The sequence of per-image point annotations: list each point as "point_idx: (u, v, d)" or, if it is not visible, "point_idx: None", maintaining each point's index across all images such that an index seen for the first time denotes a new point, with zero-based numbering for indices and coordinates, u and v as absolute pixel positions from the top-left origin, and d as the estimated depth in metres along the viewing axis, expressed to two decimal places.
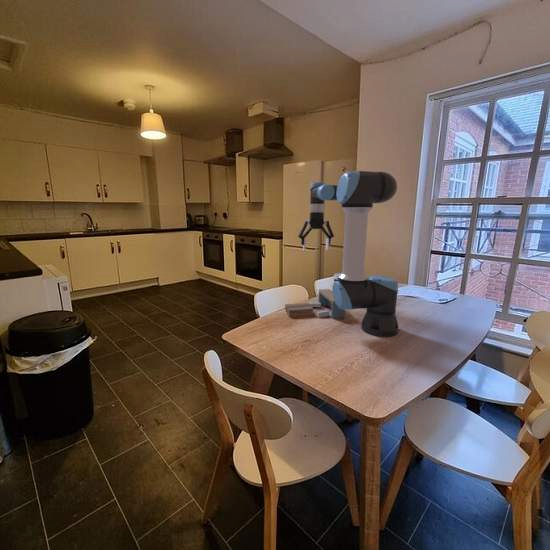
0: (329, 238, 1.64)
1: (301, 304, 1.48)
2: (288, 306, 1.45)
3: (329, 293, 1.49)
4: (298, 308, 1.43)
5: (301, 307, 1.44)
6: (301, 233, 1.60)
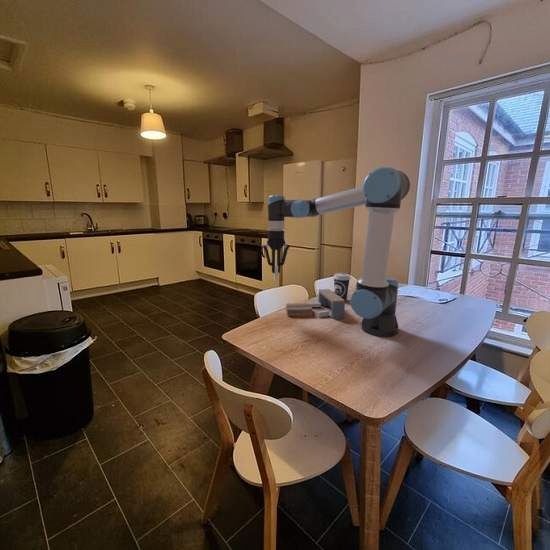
0: (277, 265, 1.38)
1: (302, 304, 1.48)
2: (288, 306, 1.46)
3: (329, 293, 1.49)
4: (298, 308, 1.43)
5: (301, 307, 1.44)
6: (268, 260, 1.36)
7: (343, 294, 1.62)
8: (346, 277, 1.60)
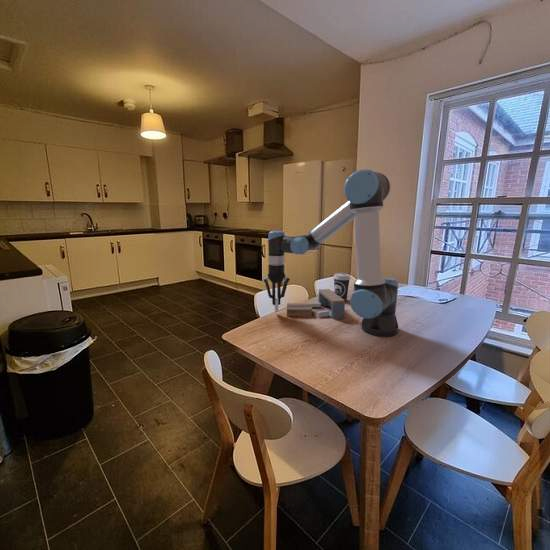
0: (278, 298, 1.42)
1: (302, 304, 1.48)
2: (288, 305, 1.46)
3: (329, 293, 1.49)
4: (297, 308, 1.43)
5: (300, 307, 1.44)
6: (269, 293, 1.40)
7: (343, 294, 1.62)
8: (346, 277, 1.60)
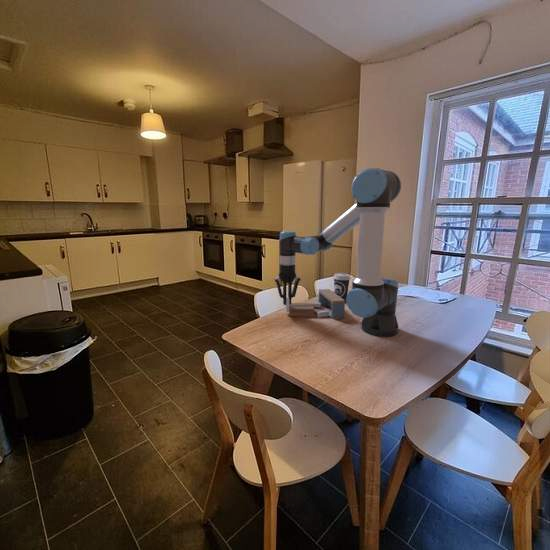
0: (289, 297, 1.43)
1: (305, 304, 1.48)
2: (290, 305, 1.47)
3: (329, 293, 1.49)
4: (300, 307, 1.43)
5: (303, 307, 1.44)
6: (280, 293, 1.41)
7: (343, 294, 1.62)
8: (346, 277, 1.60)
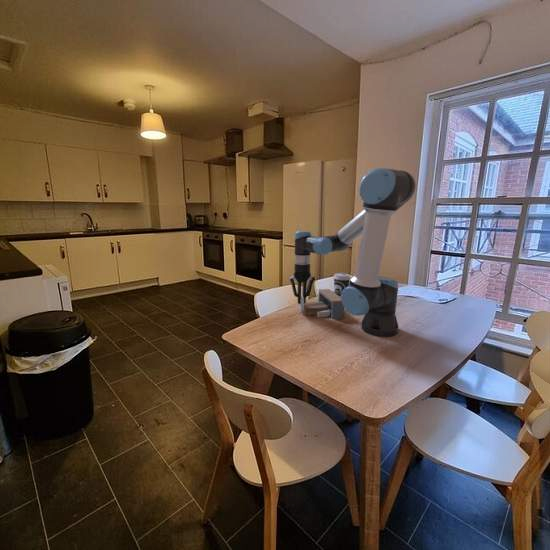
0: (303, 297, 1.44)
1: (315, 302, 1.50)
2: None
3: (329, 293, 1.49)
4: (314, 306, 1.45)
5: (316, 305, 1.46)
6: (295, 292, 1.42)
7: None
8: (346, 277, 1.60)
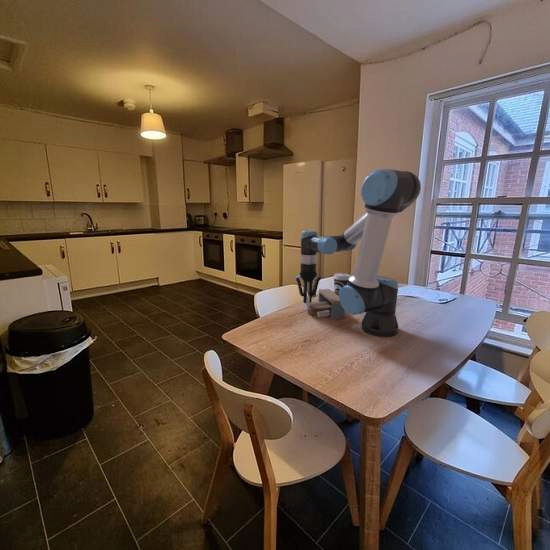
0: (309, 296, 1.45)
1: (321, 302, 1.51)
2: None
3: (329, 293, 1.49)
4: (320, 306, 1.45)
5: (322, 305, 1.46)
6: (300, 291, 1.43)
7: None
8: (346, 277, 1.60)
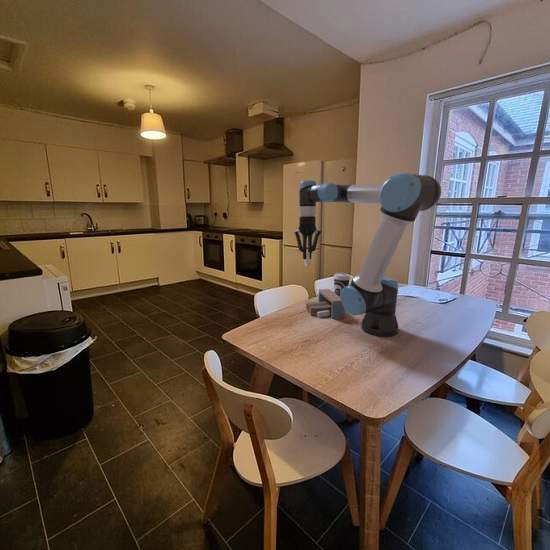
0: (309, 252, 1.38)
1: (322, 302, 1.51)
2: (309, 304, 1.48)
3: (329, 293, 1.49)
4: (320, 306, 1.45)
5: (322, 305, 1.46)
6: (300, 246, 1.36)
7: None
8: (346, 277, 1.60)
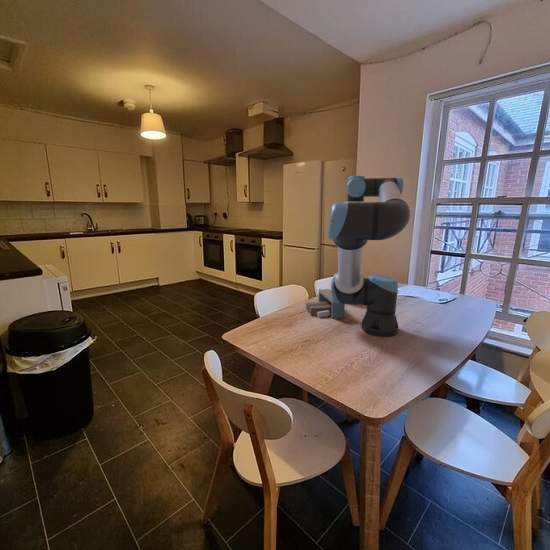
0: None
1: (322, 302, 1.51)
2: (309, 304, 1.48)
3: (329, 293, 1.49)
4: (320, 306, 1.45)
5: (322, 305, 1.46)
6: None
7: None
8: None
